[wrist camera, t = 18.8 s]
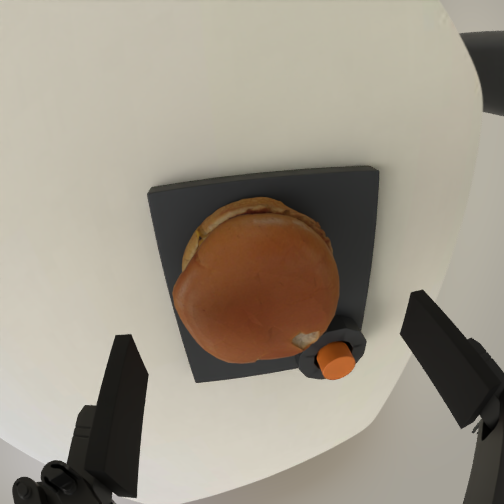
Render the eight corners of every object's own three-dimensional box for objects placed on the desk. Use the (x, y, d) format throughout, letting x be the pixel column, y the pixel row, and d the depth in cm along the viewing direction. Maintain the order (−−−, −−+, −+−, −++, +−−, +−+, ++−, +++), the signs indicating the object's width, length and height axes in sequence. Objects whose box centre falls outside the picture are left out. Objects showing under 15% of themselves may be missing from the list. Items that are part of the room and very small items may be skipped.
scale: (369, 165, 19) (393, 176, 16) (350, 346, 26) (362, 369, 24) (150, 187, 18) (141, 202, 15) (195, 373, 25) (196, 399, 22)
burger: (212, 172, 16) (215, 197, 12) (349, 229, 19) (384, 265, 15) (159, 310, 20) (152, 361, 16) (281, 341, 23) (296, 388, 19)
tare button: (349, 337, 22) (358, 353, 21) (345, 360, 23) (353, 375, 22) (317, 344, 22) (324, 361, 20) (315, 367, 23) (321, 383, 22)
